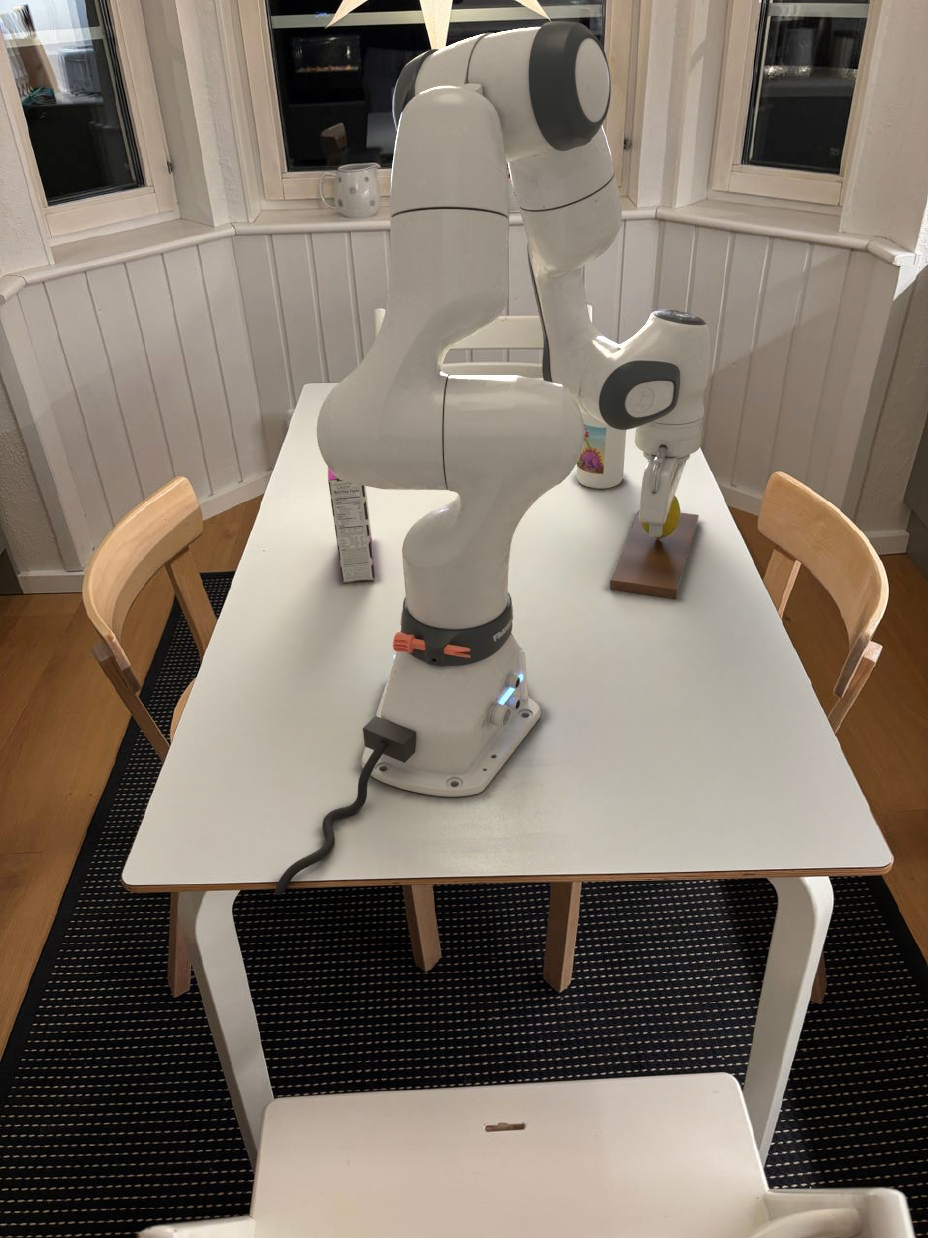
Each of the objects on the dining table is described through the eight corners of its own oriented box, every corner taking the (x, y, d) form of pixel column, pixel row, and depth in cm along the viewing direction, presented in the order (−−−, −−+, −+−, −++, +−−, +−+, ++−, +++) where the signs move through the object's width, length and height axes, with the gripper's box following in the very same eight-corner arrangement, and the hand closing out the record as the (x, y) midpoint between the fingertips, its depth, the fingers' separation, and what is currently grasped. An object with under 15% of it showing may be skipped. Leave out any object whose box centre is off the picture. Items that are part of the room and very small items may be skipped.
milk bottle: (610, 466, 162) (617, 350, 151) (631, 485, 156) (639, 366, 145) (568, 473, 160) (572, 357, 149) (587, 493, 154) (593, 373, 143)
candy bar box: (339, 545, 143) (326, 443, 133) (372, 542, 143) (362, 441, 134) (340, 584, 133) (326, 478, 124) (375, 581, 134) (365, 475, 125)
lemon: (677, 549, 136) (682, 498, 131) (637, 546, 137) (641, 496, 132) (677, 530, 140) (682, 481, 136) (639, 528, 141) (643, 479, 136)
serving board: (676, 599, 128) (677, 589, 127) (609, 589, 130) (610, 579, 129) (697, 523, 145) (698, 514, 144) (638, 516, 147) (639, 507, 146)
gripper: (681, 466, 120) (671, 561, 128) (701, 407, 136) (691, 494, 144) (631, 461, 122) (624, 554, 130) (657, 403, 138) (649, 489, 145)
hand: (659, 522), depth 137 cm, fingers open, 6 cm apart
